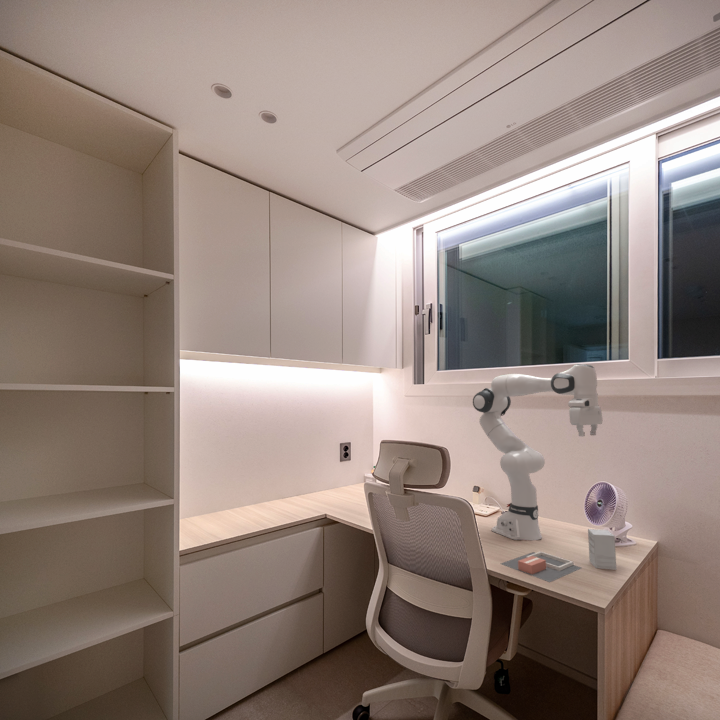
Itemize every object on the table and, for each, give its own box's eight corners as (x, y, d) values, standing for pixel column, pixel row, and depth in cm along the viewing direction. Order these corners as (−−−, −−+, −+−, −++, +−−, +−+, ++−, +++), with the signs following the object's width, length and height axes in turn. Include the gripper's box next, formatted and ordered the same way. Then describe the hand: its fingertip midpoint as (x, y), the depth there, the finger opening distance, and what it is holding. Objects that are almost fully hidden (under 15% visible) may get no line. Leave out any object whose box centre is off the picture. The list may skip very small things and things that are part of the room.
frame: (526, 559, 165) (526, 556, 165) (540, 554, 170) (540, 551, 170) (559, 570, 154) (559, 567, 154) (573, 565, 159) (573, 561, 160)
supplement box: (609, 563, 162) (608, 529, 163) (617, 571, 155) (615, 535, 156) (588, 561, 164) (587, 528, 165) (594, 569, 157) (593, 534, 158)
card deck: (531, 574, 151) (531, 565, 151) (518, 569, 155) (518, 560, 155) (546, 568, 156) (545, 560, 156) (532, 564, 160) (532, 555, 160)
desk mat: (500, 564, 160) (499, 563, 160) (533, 553, 173) (533, 552, 173) (549, 583, 144) (549, 582, 144) (582, 568, 157) (582, 567, 157)
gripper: (590, 402, 185) (592, 434, 183) (565, 402, 173) (567, 436, 171) (605, 402, 179) (607, 435, 178) (581, 402, 168) (582, 437, 166)
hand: (587, 435), depth 175 cm, fingers open, 8 cm apart
